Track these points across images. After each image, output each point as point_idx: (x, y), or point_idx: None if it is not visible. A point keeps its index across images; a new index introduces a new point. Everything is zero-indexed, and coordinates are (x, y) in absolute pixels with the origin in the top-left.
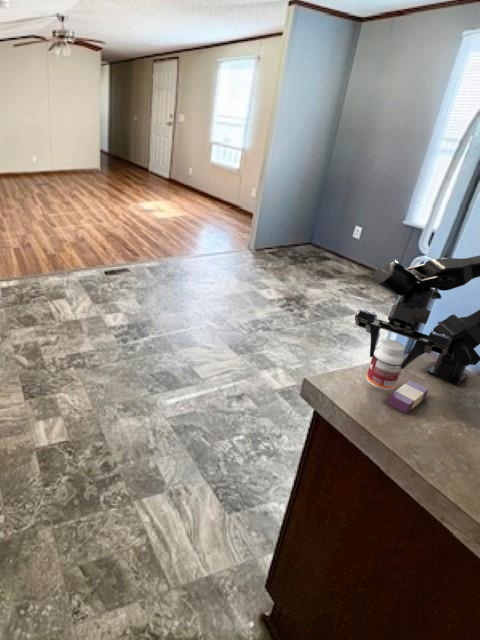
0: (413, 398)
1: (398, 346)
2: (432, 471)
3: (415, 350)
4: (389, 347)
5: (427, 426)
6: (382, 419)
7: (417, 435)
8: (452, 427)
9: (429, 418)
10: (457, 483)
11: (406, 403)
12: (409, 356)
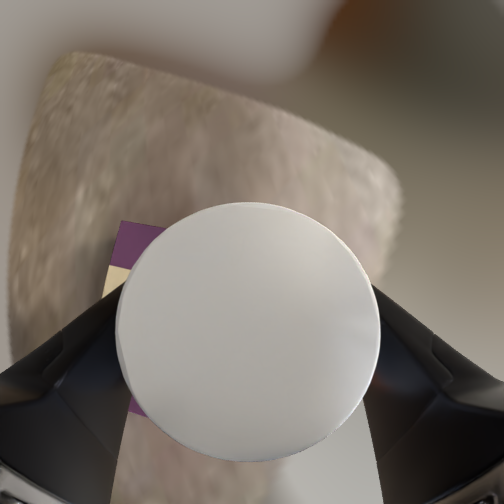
0: (113, 277)
1: (179, 334)
2: (89, 76)
3: (35, 368)
4: (260, 217)
5: (83, 217)
6: (192, 147)
7: (105, 154)
8: (35, 269)
9: (79, 265)
10: (57, 86)
11: (130, 223)
12: (89, 323)
